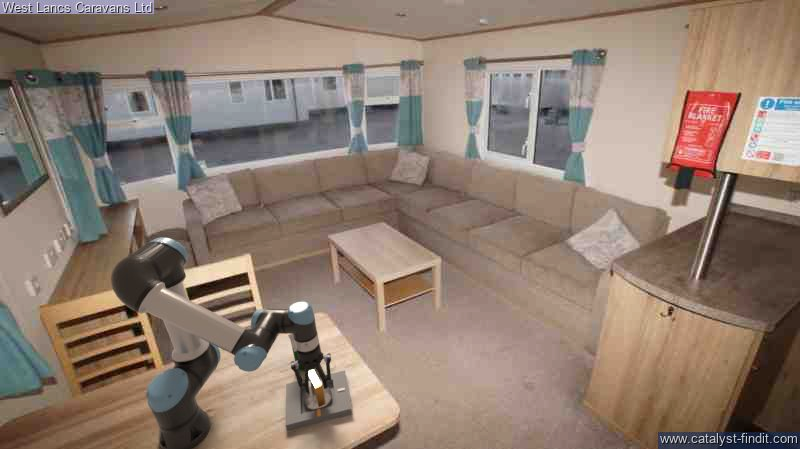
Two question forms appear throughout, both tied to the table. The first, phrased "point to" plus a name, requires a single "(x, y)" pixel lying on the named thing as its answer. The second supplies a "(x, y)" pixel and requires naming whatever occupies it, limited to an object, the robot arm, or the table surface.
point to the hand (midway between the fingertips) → (318, 395)
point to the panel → (302, 416)
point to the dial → (317, 394)
